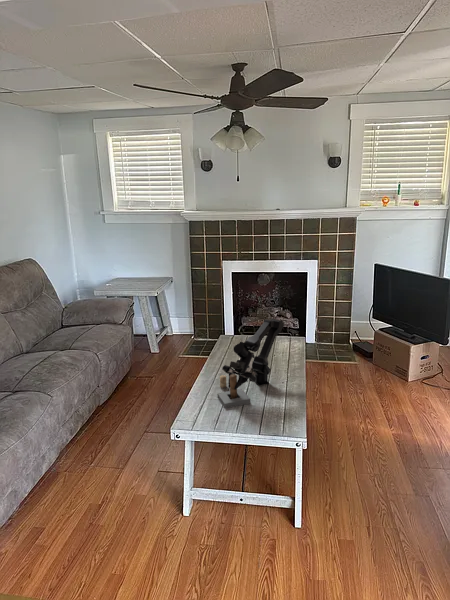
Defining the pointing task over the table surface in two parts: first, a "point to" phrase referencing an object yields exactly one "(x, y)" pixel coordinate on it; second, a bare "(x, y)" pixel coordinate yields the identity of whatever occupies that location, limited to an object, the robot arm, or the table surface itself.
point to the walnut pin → (233, 386)
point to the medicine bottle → (249, 367)
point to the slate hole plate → (227, 402)
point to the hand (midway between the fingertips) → (231, 388)
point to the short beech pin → (223, 381)
